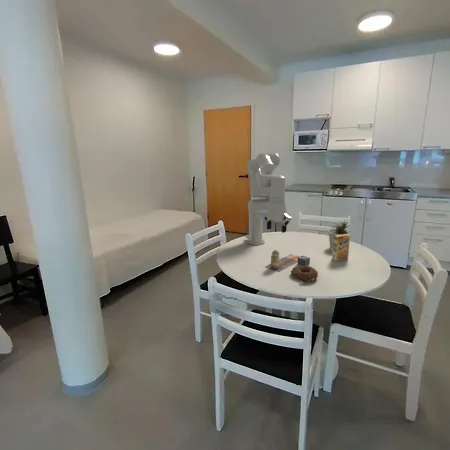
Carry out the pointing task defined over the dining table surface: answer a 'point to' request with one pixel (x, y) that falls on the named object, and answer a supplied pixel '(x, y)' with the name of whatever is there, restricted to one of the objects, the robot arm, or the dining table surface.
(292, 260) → the board
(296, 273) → the donut
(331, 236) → the potted plant
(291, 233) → the dining table surface
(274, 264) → the pawn
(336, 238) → the candy box
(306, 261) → the die
